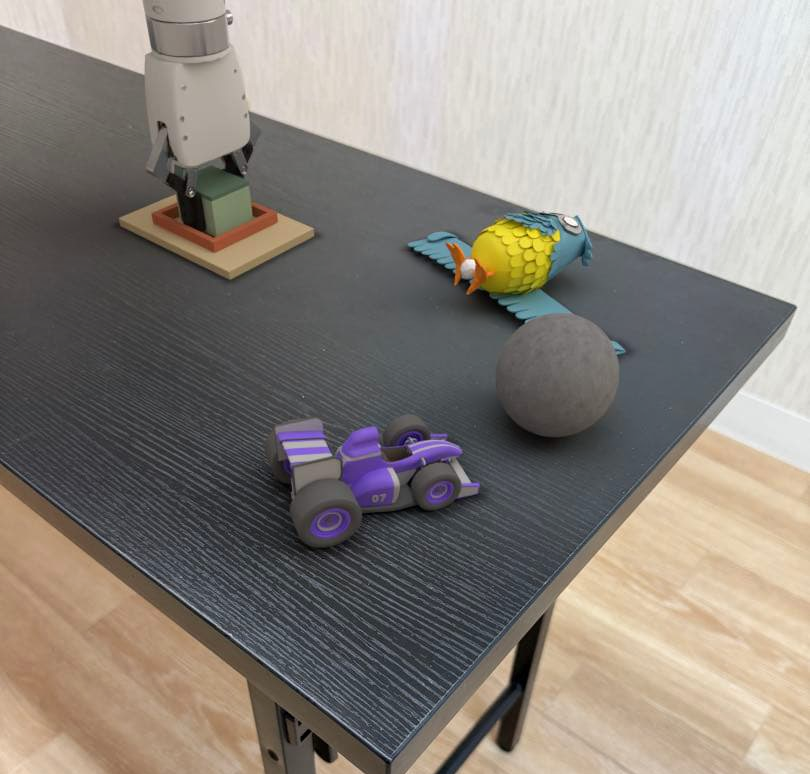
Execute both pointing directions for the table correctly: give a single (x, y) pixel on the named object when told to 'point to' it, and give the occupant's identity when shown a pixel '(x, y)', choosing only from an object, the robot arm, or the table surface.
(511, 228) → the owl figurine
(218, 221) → the green lidded box
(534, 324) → the decorative ball
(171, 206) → the wooden board with frame
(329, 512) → the toy race car
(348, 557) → the table surface
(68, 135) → the table surface
